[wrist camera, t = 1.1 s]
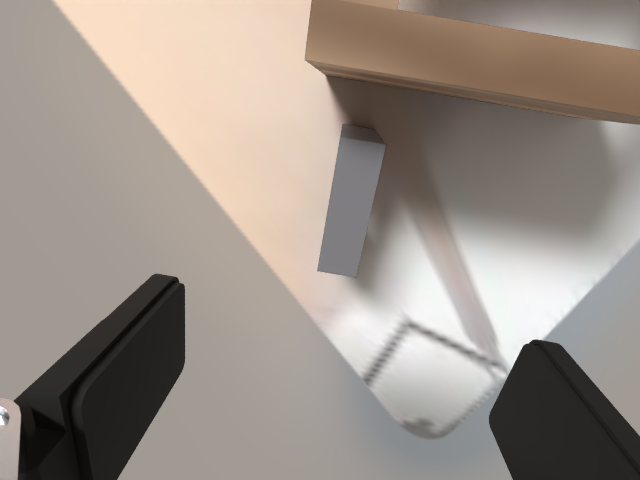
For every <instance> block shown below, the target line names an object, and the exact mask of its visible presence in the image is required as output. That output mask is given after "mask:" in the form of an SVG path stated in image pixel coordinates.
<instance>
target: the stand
mask: <svg viewBox="0 0 640 480" xmlns="http://www.w3.org/2000/svg"><path fill="white" fill-rule="evenodd" d="M398 3H399V0H312V2H311V11H310V19H309V27H308V36H307V44H306V52H305V60H306V61H307V62H308V63H310V64H311V65H312V66H314V67H315V68H317V69H318V70H319V71H321V72H322V73H323V74H325V75H329V76H335V77H341V78H347V79H353V80H359V81H365V82H371V83H376V84H382V85H388V86H394V87H400V88H406V89H412V90H418V91H424V92H430V93H436V94H442V95H447V96H453V97H459V98H465V99H471V100H477V101H483V102H489V103H495V104H501V105H507V106H513V107H518V108H524V109H530V110H536V111H542V112H548V113H554V114H560V115H566V116H572V117H578V118H585V119H594V120H603V121H612V122H621V123H630V124H639V125H640V50H634V49H628V48H622V47H616V46H610V45H604V44H598V43H592V42H586V41H580V40H574V39H568V38H562V37H556V36H550V35H544V34H538V33H532V32H526V31H520V30H514V29H508V28H502V27H496V26H490V25H484V24H478V23H472V22H466V21H460V20H454V19H448V18H442V17H436V16H430V15H424V14H418V13H412V12H406V11H400V10H397V8H398Z"/></svg>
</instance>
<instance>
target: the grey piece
mask: <svg viewBox="0 0 640 480" xmlns="http://www.w3.org/2000/svg"><path fill="white" fill-rule="evenodd" d="M385 148H386V144H385V143H384V141H383V140H382V138H381V137H380V136H379V134H378V133H377V131H376V130H375V129H370V128H364V127H358V126H352V125H346V124H343V126H342V131H341V136H340V142H339V148H338V154H337V159H336V165H335V171H334V177H333V183H332V188H331V194H330V200H329V206H328V212H327V217H326V223H325V229H324V235H323V240H322V246H321V252H320V258H319V264H318V269H317V271H320V272H326V273H331V274H337V275H343V276H349V277H354V278H356V275H357V271H358V266H359V262H360V258H361V253H362V249H363V244H364V240H365V236H366V231H367V227H368V223H369V218H370V214H371V209H372V205H373V201H374V196H375V192H376V188H377V183H378V179H379V174H380V170H381V166H382V161H383V157H384V152H385Z"/></svg>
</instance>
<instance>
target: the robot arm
mask: <svg viewBox="0 0 640 480" xmlns="http://www.w3.org/2000/svg"><path fill="white" fill-rule="evenodd" d="M184 363H185V286H184V284H181V283H179V280H178V278H177V277H173V276H167V275H162V274H154V275H152V276H151V277H150V278H149V279H148V280H147V281H146V282H145V283H144V284H142V285H141V286H140V287H139V288H138V289H137V290H136V291H135V292H134V293H133V294H132V295H130V296H129V297H128V298H127V299H126V300H125V301H124V302H123V303H122V304H121V305H119V306H118V307H117V308H116V309H115V310H114V311H113V312H112V313H111V314H110V315H109V316H107V317H106V318H105V319H104V320H102V321H101V322H100V323H99V324H98V325H96V326H95V327H94V328H93V329H92V330H91V331H90V332H89V333H88V334H86V335H85V336H84V337H83V338H82V339H81V340H80V341H79V342H78V343H77V344H76V345H74V346H73V347H72V348H71V349H70V350H69V351H68V352H67V353H66V354H65V355H63V356H62V357H61V358H60V359H59V360H58V361H57V362H56V363H55V364H54V365H52V366H51V367H50V368H49V369H48V370H47V371H46V372H45V373H44V374H43V375H42V376H40V377H39V378H38V379H37V380H36V381H35V382H34V383H33V384H32V385H31V386H29V387H28V388H27V389H26V390H25V391H24V392H23V393H22V394H21V395H20V396H19V397H17V398H16V399H15V400H14V401H12V400H8V399H4V398H0V480H117V479H118V477H119V475H120V474H121V472H122V470H123V469H124V467H125V465H126V464H127V462H128V460H129V459H130V457H131V455H132V454H133V452H134V451H135V449H136V447H137V446H138V444H139V442H140V441H141V439H142V437H143V436H144V434H145V432H146V431H147V429H148V427H149V425H150V424H151V422H152V421H153V419H154V417H155V416H156V414H157V412H158V411H159V409H160V407H161V406H162V404H163V402H164V401H165V399H166V397H167V395H168V394H169V392H170V391H171V389H172V387H173V386H174V384H175V382H176V380H177V379H178V377H179V375H180V374H181V372H182V370H183V367H184ZM489 424H490V428H491V430H492V432H493V435H494V437H495V439H496V441H497V444H498V446H499V448H500V451H501V453H502V455H503V458H504V460H505V462H506V464H507V467H508V469H509V471H510V474H511V476H512V478H513V480H640V436H639V435H638V434H637V433H636V431H635V430H634V429H633V428H632V427H631V426H630V424H629V423H628V422H627V421H626V420H625V419H624V418H623V416H622V415H621V414H620V413H619V412H618V411H617V410H616V409H615V407H614V406H613V405H612V404H611V402H610V401H609V400H608V399H607V398H606V397H605V396H604V394H603V393H602V392H601V391H600V390H599V389H598V387H596V385H595V384H594V383H593V382H592V381H591V379H590V378H589V377H588V376H587V375H586V374H585V372H584V371H583V370H582V369H581V368H580V367H579V365H577V364H576V362H575V361H574V360H573V358H571V356H570V355H569V354H568V353H567V352H566V350H565V349H564V348H563V347H562V346H561V345H560V344H557V343H553V342H548V341H542V340H532V341H531V342H530V343H529V344H525V345H524V346H523V348H522V349H521V352H520V354H519V356H518V358H517V360H516V362H515V364H514V366H513V368H512V370H511V372H510V374H509V376H508V378H507V380H506V382H505V384H504V386H503V388H502V390H501V392H500V394H499V396H498V398H497V400H496V402H495V404H494V406H493V408H492V410H491V412H490V415H489Z"/></svg>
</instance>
